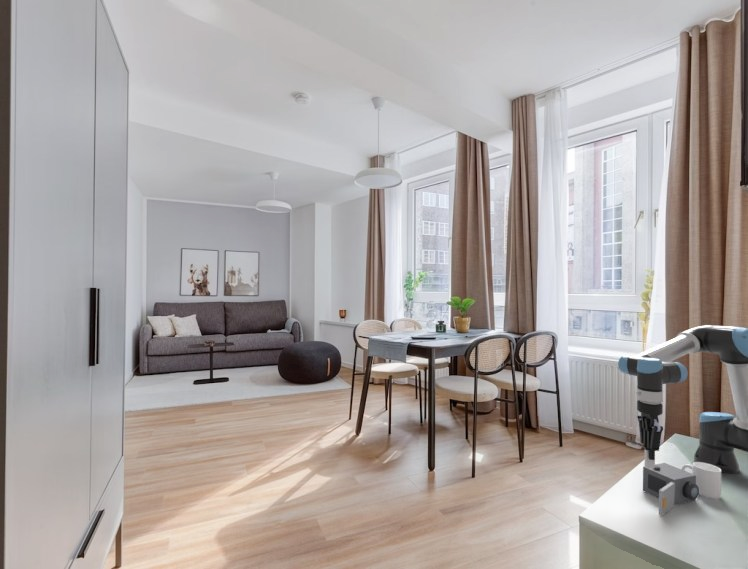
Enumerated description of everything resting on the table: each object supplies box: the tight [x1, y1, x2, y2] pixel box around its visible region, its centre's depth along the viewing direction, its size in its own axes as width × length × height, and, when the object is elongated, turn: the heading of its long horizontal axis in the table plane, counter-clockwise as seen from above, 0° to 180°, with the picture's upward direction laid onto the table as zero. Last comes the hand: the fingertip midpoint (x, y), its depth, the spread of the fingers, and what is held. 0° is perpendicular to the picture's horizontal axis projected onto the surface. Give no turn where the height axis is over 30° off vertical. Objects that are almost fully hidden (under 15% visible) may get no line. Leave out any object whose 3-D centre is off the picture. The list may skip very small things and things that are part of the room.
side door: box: [658, 482, 676, 516], centre depth 136 cm, size 2×12×8 cm, turn 126°
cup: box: [680, 462, 722, 500], centre depth 151 cm, size 8×12×10 cm
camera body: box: [642, 462, 699, 506], centre depth 146 cm, size 12×13×10 cm
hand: (649, 467), depth 143 cm, fingers closed
